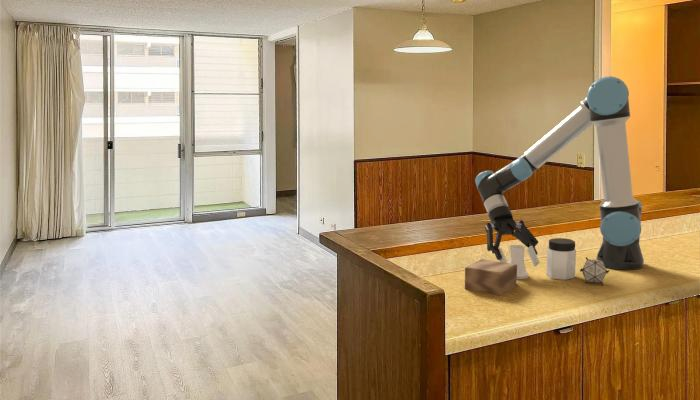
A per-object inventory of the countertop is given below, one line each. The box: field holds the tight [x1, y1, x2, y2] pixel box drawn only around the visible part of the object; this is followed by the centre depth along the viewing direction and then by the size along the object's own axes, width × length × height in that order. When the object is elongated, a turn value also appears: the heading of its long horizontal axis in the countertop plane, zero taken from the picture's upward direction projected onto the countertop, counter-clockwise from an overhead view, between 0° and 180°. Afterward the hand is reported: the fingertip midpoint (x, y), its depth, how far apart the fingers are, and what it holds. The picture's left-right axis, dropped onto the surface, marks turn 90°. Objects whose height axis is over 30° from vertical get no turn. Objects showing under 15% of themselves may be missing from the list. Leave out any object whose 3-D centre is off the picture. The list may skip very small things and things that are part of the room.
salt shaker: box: [508, 244, 529, 280], centre depth 196 cm, size 8×8×10 cm
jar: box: [545, 237, 577, 281], centre depth 195 cm, size 9×8×12 cm
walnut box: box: [464, 258, 518, 297], centre depth 185 cm, size 12×12×7 cm
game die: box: [579, 256, 610, 286], centre depth 188 cm, size 9×8×10 cm
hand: (521, 266), depth 194 cm, fingers open, 11 cm apart
